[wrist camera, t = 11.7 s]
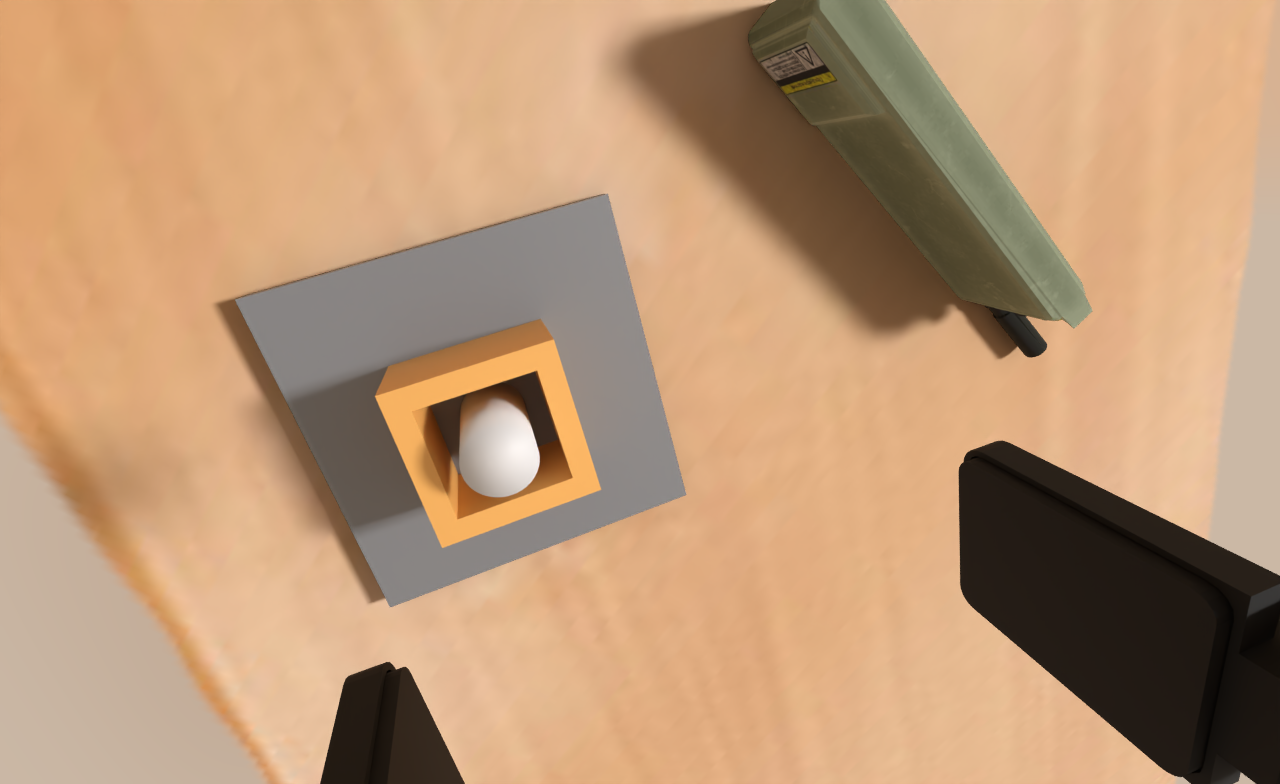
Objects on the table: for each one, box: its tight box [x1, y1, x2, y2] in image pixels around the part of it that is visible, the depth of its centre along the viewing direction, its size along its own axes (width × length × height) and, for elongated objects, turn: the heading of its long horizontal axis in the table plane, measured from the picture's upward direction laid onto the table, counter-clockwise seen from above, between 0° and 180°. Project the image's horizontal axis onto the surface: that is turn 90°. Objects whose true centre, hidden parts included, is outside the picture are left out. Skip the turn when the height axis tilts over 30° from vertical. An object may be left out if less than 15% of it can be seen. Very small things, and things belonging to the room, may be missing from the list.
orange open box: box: [375, 319, 601, 548], centre depth 27 cm, size 7×7×4 cm
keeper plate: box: [235, 194, 686, 607], centre depth 27 cm, size 16×16×7 cm
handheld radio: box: [748, 0, 1092, 357], centre depth 30 cm, size 7×3×25 cm
